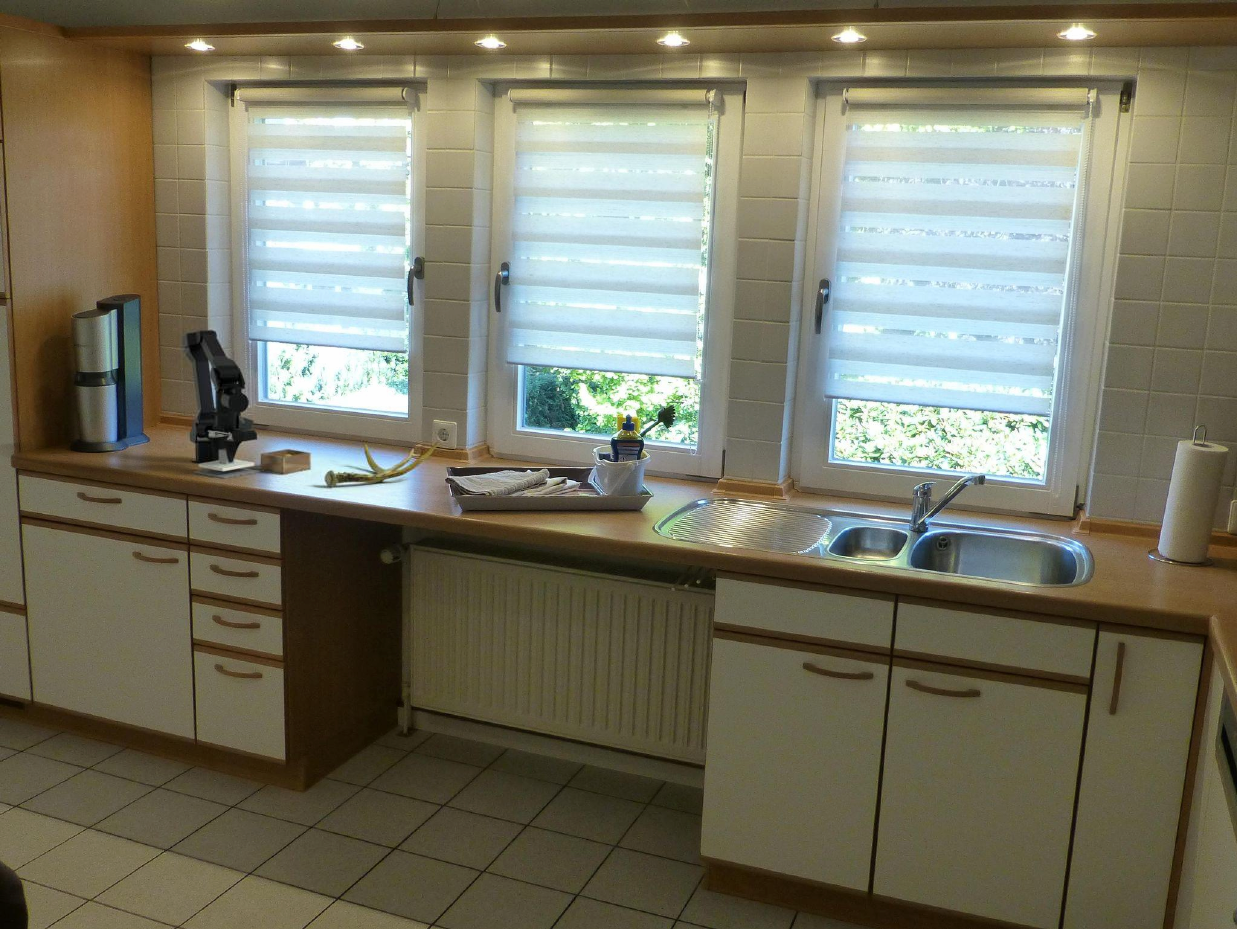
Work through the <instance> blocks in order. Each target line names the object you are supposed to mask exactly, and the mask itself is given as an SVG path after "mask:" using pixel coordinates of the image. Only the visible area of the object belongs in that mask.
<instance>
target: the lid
mask: <svg viewBox="0 0 1237 929" xmlns="http://www.w3.org/2000/svg"><path fill="white" fill-rule="evenodd" d="M198 467H200V468H205V469H214V470H219V471H227V470H232V469H238V468H248V467H255V462H253V461H246V460H242V459H236V458H234V460H233V462H231V463H230V462H229V460H228V457H227V453H226V449H220V450H219V460H218V461H212V462H207V463H198Z"/></svg>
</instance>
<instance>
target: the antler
mask: <svg viewBox="0 0 1237 929" xmlns="http://www.w3.org/2000/svg"><path fill="white" fill-rule="evenodd" d="M440 443H441V440H439V441H437V442H436V443H435V444H433V445H432V446H431V447H430V448H429V449H428V450H427V451H426V452H425V453H424V454H422V455H421V456H420V457H419V458H417V459H415V460H414V461H413V462H412V463H410V464H408V465H407V463H408V462H410V460H411V459H412V458H413V453H414V451H415V448H414V447H413V448H411V451H410V452H409V454H407V455H408V456H406V457H405V458H404V459H403V460H402V461H400V462H399V463H397V464H395V465H393V466H392V467H390V468H388V469H387V468H386V469H385V468H383V467H381V466H379V465H378V464H377V463H376V461H375V460H374V459H373V457H372V455H371V453H370V451H369V448H368V444H366V443H365V445H364V454H365V458H366V462H367V463H368V466H369V467H370V470H372V471H373V472H375V473H376V474H371V473H370V474H368V473H367V474H366V473H359V472H358V473H357V472H354V471H353V472H348V471H347V472H346V471H344V472H340V471H338V472H336V473H335V471H334V470H332V469H331V470H328V471H327V472H326V474H325V476H324V482H325V484H326V485H327V486H328V487H330V488H331V487H332V488H333V487H336V486H338V484H344V483H379V482H382V481H385V480H389V479H393V478H397V477H401V476H404V475H406V474H407V473H409V472H410V471H412V470H414V469H415V468H417V467H418V466H420V464H422V463H423V462H424V461H426V459H428V458H429V457H430V456H431V455H432V453H433V452H434V451H435V449H437V447H438V446H439V444H440ZM405 465H407V466H406V467H404V466H405Z"/></svg>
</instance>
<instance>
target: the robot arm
mask: <svg viewBox="0 0 1237 929" xmlns="http://www.w3.org/2000/svg"><path fill="white" fill-rule="evenodd" d="M181 346H182V348H183V350H184V355H185V356H186V358H188V360H189V361H190V362H191V364H192V374H193V380H194V381H193V382H194V387H195V388H194V390H195V396H196V398H195V399H196V403H197V404H196V406H197V411H196V414H195V415H194V417H193V424H192V426H191V429H190V432H189V441H190V442H191V443H193V444H195V445H194V446H195V451H194V452H195V459H191V460H190V461H191V462H192V463H197V464H201V463H207V462H212V461H218V460H219V450H220V449H226V453H227V457H228V460H229V462H230V463H231V462H233V460H234V459H235V458H236V455H237V451H238V449H239V447H240V445H241V444H242V443H243V442H249V441H257V440H258V432H257V431H256V429H252V428H253V425H254V422H255V421H254V420H252V419H250V418H247V417H244V416H242V413H243V412H245V411H246V410H247V408H249V404H250V400H249V399H248V396H247V395H246V394H245V393H243V392H242V390H245V388H246V387H245V385H246V381H245V377H244V376H243V372H242V371H241V368H239V366H238V365H237V363H236V361H235V360H233V359H231V358H229V357H228V356H227V355H226V353H225V350H224V349H223V347H222V345H221V343H220V341H219V339H218V335H217V332H216V330H213V329H200V330H197V331H193V332H191V331H190V332H189V331H187V332H186V333H185V334H184V335H182V336H181ZM210 366H211V368H210ZM212 384H213V386H214V388H213V387H212ZM213 389H214V391H215V395H214V396H213ZM214 398H215V402H214Z"/></svg>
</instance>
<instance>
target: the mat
mask: <svg viewBox="0 0 1237 929" xmlns="http://www.w3.org/2000/svg"><path fill="white" fill-rule="evenodd" d="M256 472H257V473H260V470H257V469H251V468H248V467H243V468H238V469H232V470H227V471H219V470H214V469H209V468H205V469H200V470H197V471H194V474H197V473H198V474H199V475H202V476H206V477H212V476H214V477H213V478H218V479H223V478H226V479H230V477H231V478H235V477H234V476H236V477H241V476H240V475H242V476H247V475H250V474H249V473H252V474H257V473H256ZM246 474H247V475H246Z"/></svg>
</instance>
